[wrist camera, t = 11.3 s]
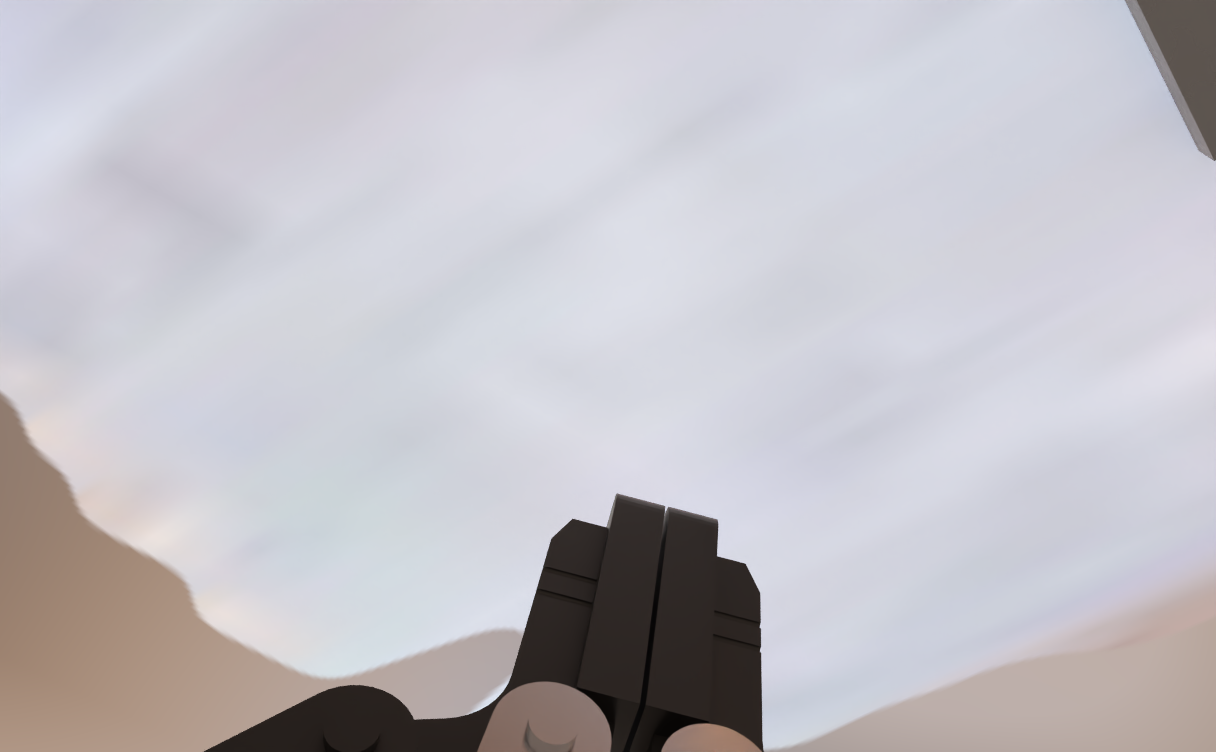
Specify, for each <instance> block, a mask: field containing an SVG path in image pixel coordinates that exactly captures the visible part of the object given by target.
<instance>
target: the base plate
mask: <svg viewBox="0 0 1216 752" xmlns="http://www.w3.org/2000/svg"><path fill="white" fill-rule="evenodd" d="M1125 1H1126V3H1127V5H1128V7H1129V9H1130V11H1131V13H1132V15H1133V17H1134V19H1135V21H1136V24H1137V26H1138V28H1139V30H1140V32H1141V34H1142V36H1143V38H1144V40H1145V42H1146V44H1147V46H1148V48H1149V50H1150V52H1151V54H1152V56H1153V58H1154V60H1155V62H1156V64H1157V66H1158V68H1159V70H1160V73H1161V75H1162V77H1163V79H1164V81H1165V83H1166V85H1167V87H1168V89H1169V91H1170V93H1171V95H1172V97H1173V99H1174V101H1175V103H1176V105H1177V107H1178V109H1179V111H1180V113H1181V115H1182V117H1183V119H1184V122H1185V124H1186V126H1187V128H1188V130H1189V132H1190V134H1191V136H1192V138H1193V140H1194V142H1195V144H1196V146H1197V148H1198V150H1199V151H1200V152H1202V153H1203V154H1205V155H1206V156H1208V157H1209V158H1211V159H1212V160H1214V161H1215V160H1216V0H1125Z"/></svg>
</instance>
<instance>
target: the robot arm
mask: <svg viewBox="0 0 1216 752" xmlns="http://www.w3.org/2000/svg"><path fill="white" fill-rule="evenodd" d="M664 515H665V516H664ZM717 541H718V520H717V519H713V518H709V517H705V516H702V515H698V514H694V513H690V512H686V511H683V510H679V509H675V508H671V507H668V509H667V511H666V513H665V506H663V505H659V504H655V503H651V502H647V501H644V500H640V499H636V498H632V497H628V496H624V495H621V494H616V496H615V500H614V503H613V506H612V510H611V513H610V517H609V520H608V524H607V527H602V526H598V525H594V524H591V523H587V522H583V521H579V520H575V519H572V520H571V521H570V522H569V523H568V524H567V525H565V526H564V527H563V528H562V529H561V530H560V531H559V532H558V533H557V534H556V535H555V536H554V537H553V538H552V539H551V542H550V546H549V549H548V552H547V556H546V559H545V563H544V566H543V570H542V573H541V576H540V580H539V583H538V587H537V590H536V594H535V597H534V600H533V604H532V607H531V611H530V614H529V618H528V621H527V624H526V628H525V631H524V635H523V638H522V642H521V645H520V648H519V652H518V656H517V659H516V662H515V666H514V669H513V673H512V676H511V678H510V681H509V683H508V685H507V686H506V688H505V690H504V691H503V692H502V693H501V695H500V696H499V697H498V698H497V699H496V700H495V701H493V702H492V703H491V704H489V705H488V706H486V707H485V708H483V709H481V710H479V711H477V712H474V713H472V714H469V715H465V716H461V717H456V718H446V719H421V720H414V719H413V716H412V715H411V713H410V712H409V710H408V709H407V707H406V706H405V705H404V704H403V703H402V702H401V701H400V700H398V699H397V698H396V697H394V696H393V695H391V694H389V693H387V692H385V691H383V690H380V689H377V688H374V687H369V686H362V685H348V686H340V687H336V688H332V689H328V690H326V691H323V692H321V693H319V694H317V695H315V696H313V697H311V698H309V699H307V700H305V701H303V702H301V703H299V704H297V705H295V706H293V707H291V708H289V709H287V710H285V711H283V712H281V713H279V714H277V715H275V716H273V717H271V718H269V719H267V720H265V721H263V722H261V723H259V724H257V725H255V726H253V727H251V728H249V729H247V730H246V731H243V732H241V733H239V734H238V735H236V736H234V737H232V738H230V739H228V740H226V741H224V742H222V743H220V744H218V745H216V746H214V747H212V748H210V749H208V750H206V751H204V752H764V751H763V742H762V683H761V652H760V648H761V628H759V627H760V623H761V616H760V592H759V590H758V588H757V586H756V584H755V582H754V580H753V578H752V576H751V574H750V572H749V570H748V568H747V566H746V564H744V563H740V562H736V561H733V560H729V559H725V558H721V557H717Z"/></svg>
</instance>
